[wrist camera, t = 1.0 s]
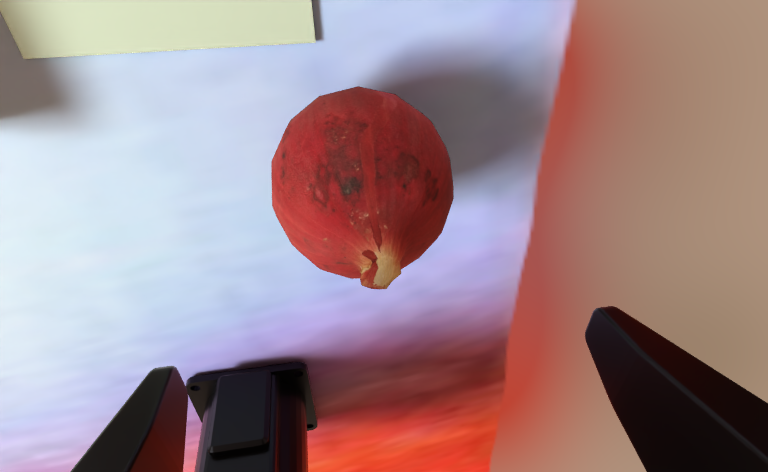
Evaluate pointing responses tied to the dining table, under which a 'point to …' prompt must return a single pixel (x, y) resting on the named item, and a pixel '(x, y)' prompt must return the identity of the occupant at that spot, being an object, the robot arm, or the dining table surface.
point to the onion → (361, 184)
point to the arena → (153, 25)
